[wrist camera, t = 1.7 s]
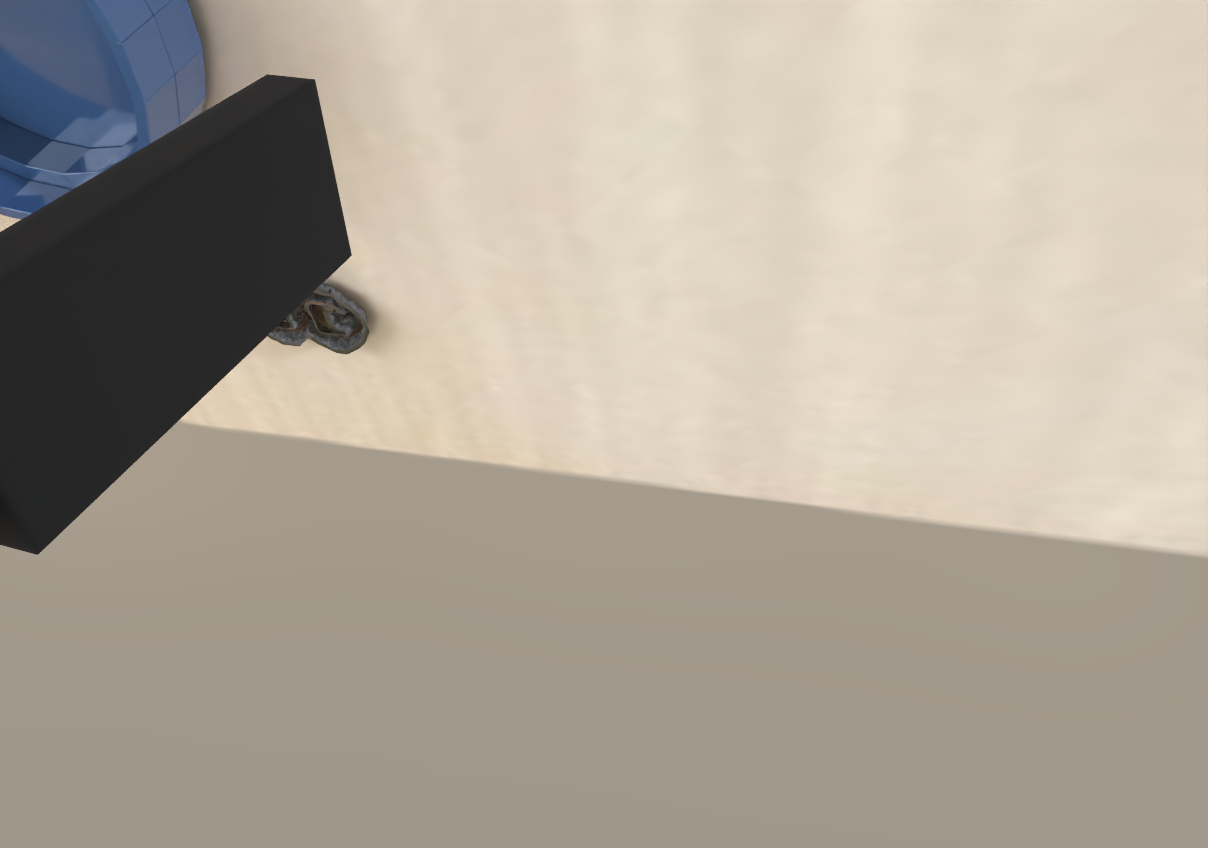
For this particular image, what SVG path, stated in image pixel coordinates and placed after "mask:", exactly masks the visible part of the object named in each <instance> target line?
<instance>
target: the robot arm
mask: <svg viewBox="0 0 1208 848" xmlns="http://www.w3.org/2000/svg"><path fill="white" fill-rule="evenodd" d="M350 256H352V255H351V250H350V245H349V240H348V236H347V231H346V226H345V221H344V216H343V212H342V207H341V202H340V197H339V193H338V188H337V183H336V178H335V173H334V169H333V164H332V159H331V154H330V149H329V145H328V140H327V135H326V130H325V126H324V121H323V116H322V111H321V106H320V102H319V97H318V92H317V87H316V82H315V80H314V79H305V78H295V77H286V76H276V75H266V76H264V77H262V78H260V79H259V80H257V81H255V82H254V83H252V84H250V85H249V86H247V87H245V88H244V89H242V90H240V91H238V92H237V93H235V94H233V95H232V96H230V97H228V98H227V99H225V100H223V101H222V102H220V103H218V104H216V105H215V106H213V107H211V108H210V109H208V110H206V111H205V112H203V113H201V114H199V115H198V116H196V117H194V118H193V119H191V120H189V121H188V122H186V123H184V124H183V125H181V126H179V127H177V128H176V129H174V130H172V131H171V132H169V133H167V134H166V135H164V136H162V137H161V138H159V139H157V140H155V141H154V142H152V143H150V144H149V145H147V146H145V147H144V148H142V149H140V150H139V151H137V152H135V153H133V154H132V155H130V156H128V157H127V158H125V159H123V160H122V161H120V162H118V163H117V164H115V165H113V166H111V167H110V168H108V169H106V170H105V171H103V172H101V173H100V174H98V175H96V176H95V177H93V178H91V179H89V180H88V181H86V182H84V183H83V184H81V185H79V186H78V187H76V188H74V189H73V190H71V191H69V192H67V193H66V194H64V195H62V196H61V197H59V198H57V199H56V200H54V201H52V202H51V203H49V204H47V205H45V206H44V207H42V208H40V209H39V210H37V211H35V212H34V213H32V214H30V215H28V216H27V217H25V218H23V219H22V220H20V221H18V222H17V223H15V224H13V225H12V226H10V227H8V228H6V229H5V230H3V231H1V232H0V545H3V546H7V547H11V548H14V549H18V550H22V551H26V552H29V553H33V554H39V553H40V552H41V551H42V550H43V549H44V548H45V547H46V546H47V545H48V544H50V543H51V542H52V541H53V540H54V539H55V538H56V537H57V536H58V535H59V534H60V533H61V532H62V531H63V530H64V529H65V528H66V527H67V526H68V525H69V524H70V523H71V522H73V521H74V520H75V519H76V518H77V517H78V516H79V515H80V514H81V513H82V512H83V511H84V510H85V509H86V508H87V507H88V506H89V505H90V504H91V503H93V502H94V501H95V500H96V499H97V498H98V497H99V496H100V495H101V494H102V493H103V492H104V491H105V490H106V489H107V488H108V487H109V486H110V485H111V484H112V483H114V482H115V481H116V480H117V479H118V478H119V477H120V476H121V475H122V474H123V473H124V472H125V471H126V470H127V469H128V468H129V467H130V466H131V465H132V464H133V463H134V462H135V461H137V460H138V459H139V458H140V457H141V456H142V455H143V454H144V453H145V452H146V451H147V450H148V449H149V448H150V447H151V446H152V445H153V444H154V443H155V442H156V441H158V440H159V439H160V438H161V437H162V436H163V435H164V434H165V433H166V432H167V431H168V430H169V429H170V428H171V427H172V426H173V425H174V424H175V423H176V422H177V421H179V420H180V419H181V418H182V417H183V416H184V415H185V414H186V413H187V412H188V411H189V410H190V409H191V408H192V407H193V406H194V405H195V404H196V403H197V402H198V401H199V400H201V399H202V398H203V397H204V396H205V395H206V394H207V393H208V392H209V391H210V390H211V389H212V388H213V387H214V386H215V385H216V384H217V383H218V382H219V381H220V380H222V379H223V378H224V377H225V376H226V375H227V374H228V373H229V372H230V371H231V370H232V369H233V368H234V367H235V366H236V365H237V364H238V363H239V362H240V361H241V360H242V359H244V358H245V357H246V356H247V355H248V354H249V353H250V352H251V351H252V350H253V349H254V348H255V347H256V346H257V345H258V344H259V343H260V342H261V341H262V340H263V339H264V338H266V337H267V336H268V335H269V334H270V333H271V332H272V331H273V330H274V329H275V328H276V327H277V326H278V325H279V324H280V323H281V322H282V321H283V320H284V319H285V318H287V317H288V316H289V315H290V314H291V313H292V312H293V311H294V310H295V309H296V308H297V307H298V306H299V305H300V304H301V303H302V302H303V301H304V300H305V299H306V298H307V297H309V296H310V295H311V294H312V293H313V292H314V291H315V290H316V289H317V288H318V287H319V286H320V285H321V284H322V283H323V282H324V281H325V280H326V279H327V278H328V277H330V276H331V275H332V274H333V273H334V272H335V271H336V270H337V269H338V268H339V267H340V266H341V265H342V264H343V263H344V262H345V261H346V260H347V259H348V258H349V257H350Z"/></svg>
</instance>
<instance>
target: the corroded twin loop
mask: <svg viewBox="0 0 1208 848" xmlns="http://www.w3.org/2000/svg"><path fill="white" fill-rule="evenodd" d="M311 304H315V305H322V306H328V307H330V308H332V309H334V311H325V312H323V314H324V318H325V321H326V323H327V324H328V325H329V327H330V328H331V329H328V328H327V327H326V326H323V325H322V324H321V323H320V322H319V320H318V317H317V314H316V313H315V311H314V308H313V306H312V305H311ZM286 319H287V320H288V322H281V323H280V324H279V325H278V326H277V327H276V328H275V329H274V330H273V331H272V332H271V333H270V334H269V335H268V337H269V338H271V339H273V340H275V341H278V342H279V343H281V344H284V345H292V346H301V344H302V343H303V342H305V340H306V339H311V340H313V341H314V342H316V343H317V344H319V345H321V346H323V347H325V348H328V349H330V350H332V351H334V352H336V353H341V354H349V353H351V352H353V351H355V350H357V349H359V348H360V347H361V346H362V345H363V344H365V342H366V340H367V337H368V334H369V329H368V327H367V325H366V323H367V317H366V315H365V313H364V311H363V309H361V308H359V306H357V304H356V303H354V302H353V301H352V300H351V299H348V298H345V297H343V296H342V295H341V293H340V292H339V291H338V290H336V289H335V288H333V287H332V286H330V285H328V284H325V283H322V284H321V285H320V286H319V287H318V288H317V289H316V290H315V291H314V292H313V293H312V294H311V295H310V296H309V297H307V298H306V299H305V300H304V301H303V302H302V303H301V304H300V305H299V306H298V307H297V308H296V309H295V310H294V311H293V312H292V313H291V314H290V315H289V316H288V317H287V318H286Z"/></svg>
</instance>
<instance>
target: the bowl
mask: <svg viewBox="0 0 1208 848" xmlns="http://www.w3.org/2000/svg"><path fill="white" fill-rule="evenodd" d="M205 97H206V88H205V74H204V60H203V49H202V44H201V41H200V38H199V35H198V32H197V29H196V26H195V22H194V19H193V16H192V13H191V10H190V7H189V4H188V1H187V0H0V214H2V215H4V216H8V217H12V218H17V219H21V220H22V219H23V218H25V217H27V216H28V215H30V214H32V213H34V212H35V211H37V210H39V209H40V208H42V207H44V206H45V205H47V204H49V203H51V202H52V201H54V200H56V199H57V198H59V197H61V196H62V195H64V194H66V193H67V192H69V191H71V190H73V189H74V188H76V187H78V186H79V185H81V184H83V183H84V182H86V181H88V180H89V179H91V178H93V177H95V176H96V175H98V174H100V173H101V172H103V171H105V170H106V169H108V168H110V167H111V166H113V165H115V164H117V163H118V162H120V161H122V160H123V159H125V158H127V157H128V156H130V155H132V154H133V153H135V152H137V151H139V150H140V149H142V148H144V147H145V146H147V145H149V144H150V143H152V142H154V141H155V140H157V139H159V138H161V137H162V136H164V135H166V134H167V133H169V132H171V131H172V130H174V129H176V128H177V127H179V126H181V125H183V124H184V123H186V122H188V121H189V120H191V119H193V118H194V117H196V116H198V115H199V114H201V113H202V109H203V105H204V102H205Z"/></svg>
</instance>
